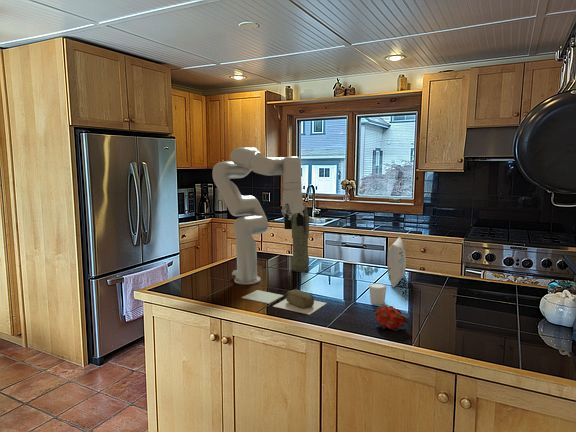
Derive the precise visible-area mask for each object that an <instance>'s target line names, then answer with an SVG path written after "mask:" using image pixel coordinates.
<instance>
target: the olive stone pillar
mask: <svg viewBox="0 0 576 432" xmlns="http://www.w3.org/2000/svg"><path fill="white" fill-rule="evenodd" d="M303 205H304V206H305V209H304V216H303V221H304V226H297V222H296V217H298V216H297V215H296V214H293V215H292V216H291V220H292V229H291V239H292V257H291V265H292V271H293V272H296V273H304V272H308V271H309V270H310V268H309V266H310V256H309V254H308V253H309V237H310V236H309V235H310V216H309V214H308V206H307V204H306V203H304V202H303Z"/></svg>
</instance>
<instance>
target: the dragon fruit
mask: <svg viewBox="0 0 576 432" xmlns="http://www.w3.org/2000/svg"><path fill="white" fill-rule="evenodd" d="M374 316H375V317H374V320H375V321H376V322H377V323H379V324H380V325H381V327H382V330H385V329H386V328H388V329H390V330H391V331H395V332H396V331H397V332H398V331H400V329H399V328H402V327H405V326H406V324H407V323H408V324H409V319H408V318H407V316H406V315H404V314H403V313H402V311H401V310H400V309H398V308H397V309H396V308H395V307H394V306H392V305H387V304H382V306H381V305H380V306H378V307H377V308H376V309H375V312H374Z"/></svg>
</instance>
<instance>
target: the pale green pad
mask: <svg viewBox="0 0 576 432" xmlns="http://www.w3.org/2000/svg"><path fill="white" fill-rule="evenodd" d="M282 297H284V295H283V294H280V293H279V294H278V293H275V292H270V291H264V290H259V289H256V290H254V291H252V292H250V293H248V294H246V295H244V296H241V299H244V300H250V301H253V302H257V303H263V304H267V305H270V304H271V303H273V302H275V301H277V300H279V299H281V298H282Z"/></svg>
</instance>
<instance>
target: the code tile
mask: <svg viewBox="0 0 576 432" xmlns="http://www.w3.org/2000/svg"><path fill="white" fill-rule="evenodd" d="M325 305H327V302H324V301H323V302H322V301H318V300H314V305H313V306H311V307H308V308H301V307H299V306H296V305H293V304H291V303H289V302H288V301H287V300H286V298H284V299H283V300H281V301H280V302H278V303H275V304H274V305H272V307H273V308H278V309H283V310H287V311H291V312H295V313H299V314H300V313H301V314H303V315H309V316H310V315H311V314H313V313H314V312H316V311H318V310H320V309H321V308H322V307H323V306H325Z"/></svg>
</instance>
